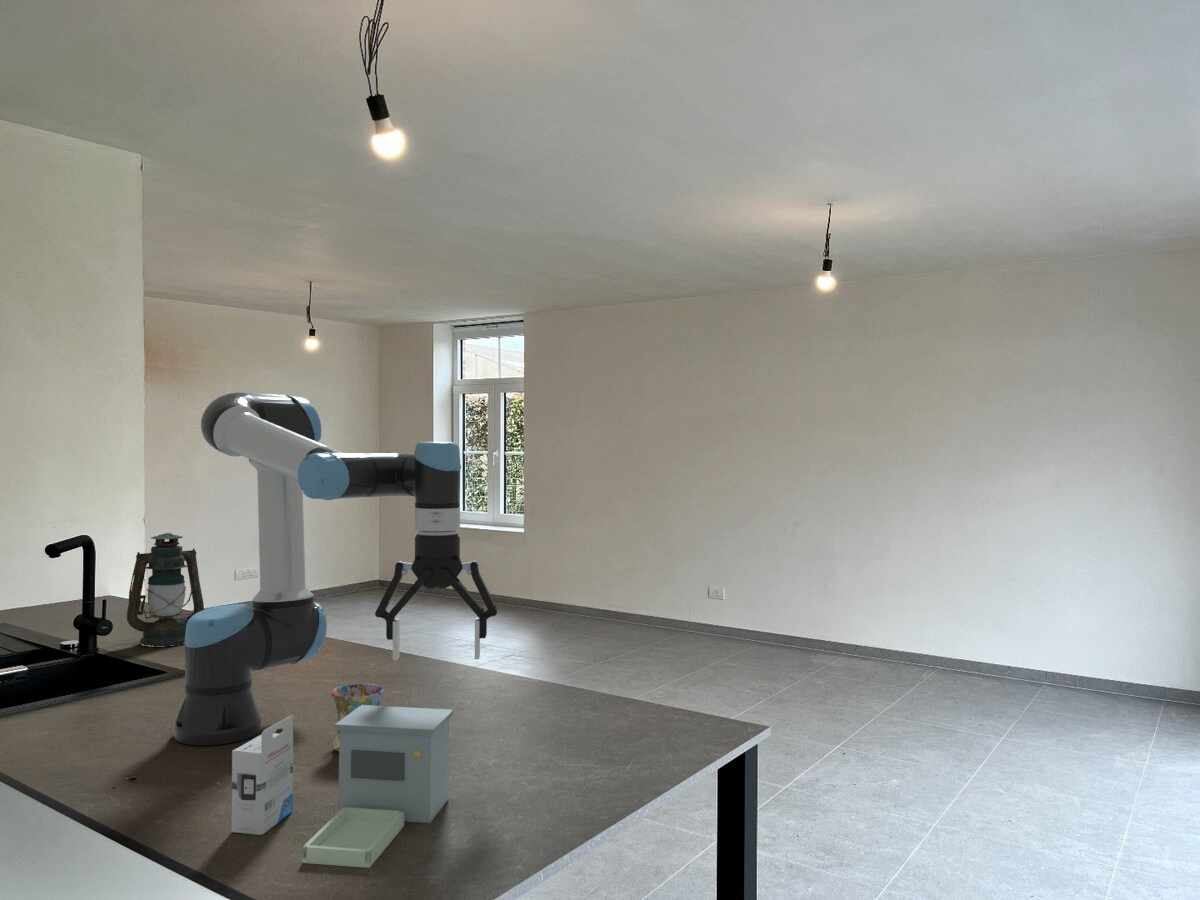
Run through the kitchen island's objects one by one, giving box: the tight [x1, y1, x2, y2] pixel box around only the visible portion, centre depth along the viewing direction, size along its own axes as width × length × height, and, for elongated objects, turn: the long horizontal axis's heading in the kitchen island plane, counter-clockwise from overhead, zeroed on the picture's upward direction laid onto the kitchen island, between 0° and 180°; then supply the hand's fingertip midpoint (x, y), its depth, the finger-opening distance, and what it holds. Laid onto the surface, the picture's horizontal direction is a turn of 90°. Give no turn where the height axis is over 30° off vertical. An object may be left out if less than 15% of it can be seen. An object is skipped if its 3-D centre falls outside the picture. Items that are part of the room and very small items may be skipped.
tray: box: [301, 807, 405, 869], centre depth 125 cm, size 9×13×2 cm
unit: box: [334, 705, 454, 824], centre depth 137 cm, size 15×10×14 cm, turn 83°
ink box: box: [231, 714, 294, 836], centre depth 131 cm, size 9×5×15 cm, turn 168°
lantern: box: [126, 532, 205, 646], centre depth 246 cm, size 19×14×30 cm
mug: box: [330, 683, 385, 752], centre depth 164 cm, size 12×9×11 cm
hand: (436, 658), depth 153 cm, fingers open, 13 cm apart
